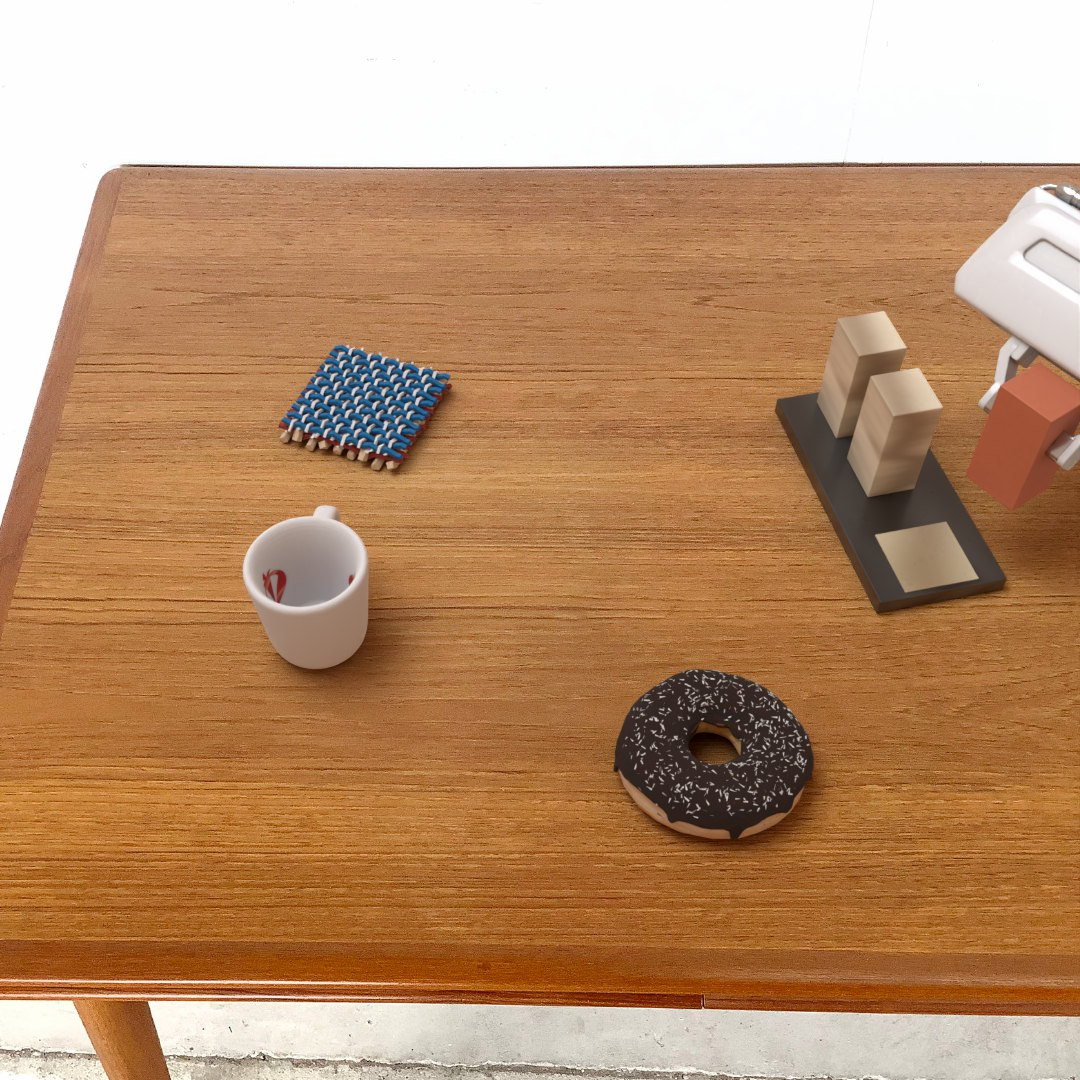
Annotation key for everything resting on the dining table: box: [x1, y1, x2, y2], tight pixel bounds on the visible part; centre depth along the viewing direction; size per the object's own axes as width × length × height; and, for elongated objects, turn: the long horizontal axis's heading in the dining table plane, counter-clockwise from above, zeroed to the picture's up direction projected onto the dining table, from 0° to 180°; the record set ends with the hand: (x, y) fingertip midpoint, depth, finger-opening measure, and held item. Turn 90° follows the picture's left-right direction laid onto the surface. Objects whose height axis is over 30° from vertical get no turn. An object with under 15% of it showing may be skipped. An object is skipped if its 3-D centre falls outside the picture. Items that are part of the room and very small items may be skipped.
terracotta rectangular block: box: [964, 362, 1080, 512], centre depth 83 cm, size 4×4×8 cm
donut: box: [612, 668, 815, 842], centre depth 80 cm, size 11×12×4 cm
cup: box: [242, 504, 370, 670], centre depth 86 cm, size 11×8×8 cm
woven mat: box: [277, 344, 453, 471], centre depth 100 cm, size 10×11×2 cm
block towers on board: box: [774, 310, 1008, 614], centre depth 90 cm, size 9×20×9 cm, turn 11°
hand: (1021, 438), depth 82 cm, fingers closed on terracotta rectangular block, 4 cm apart
